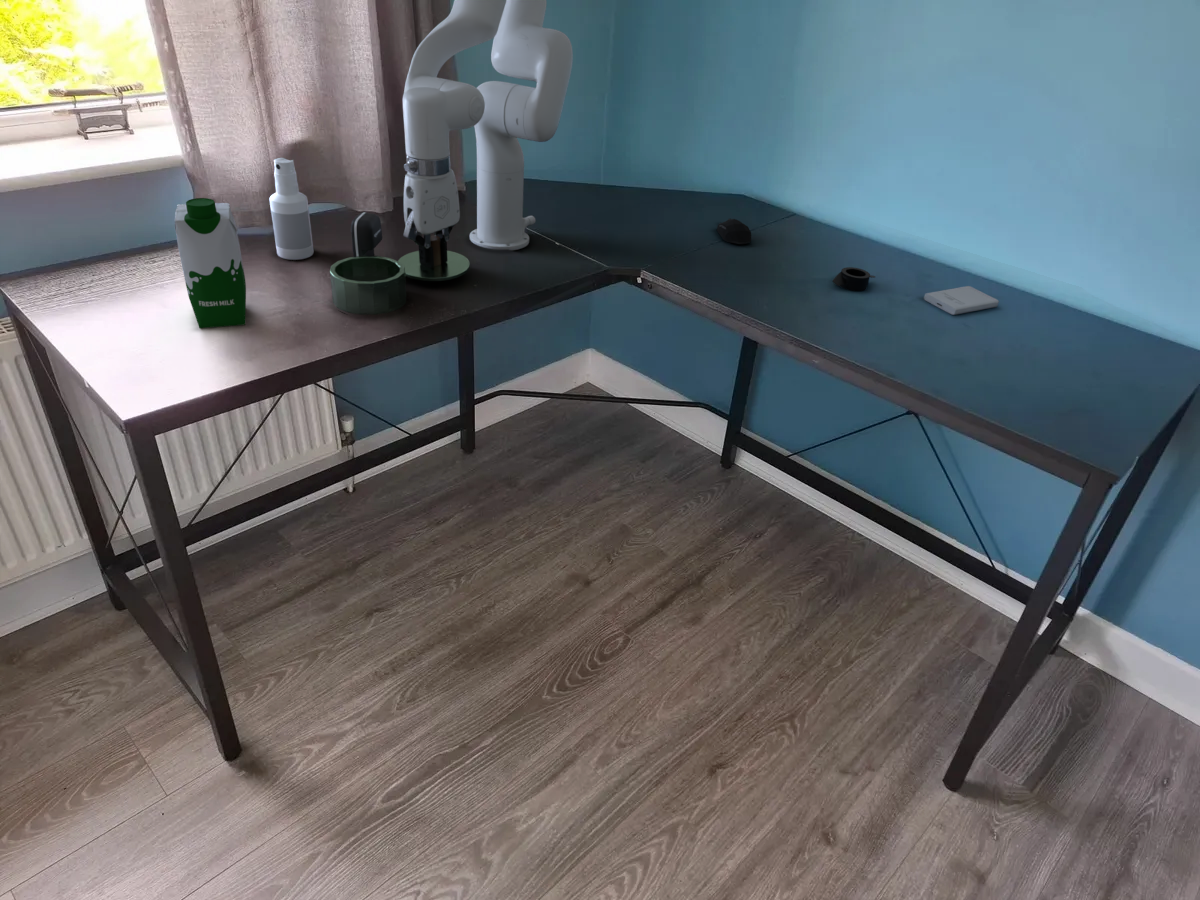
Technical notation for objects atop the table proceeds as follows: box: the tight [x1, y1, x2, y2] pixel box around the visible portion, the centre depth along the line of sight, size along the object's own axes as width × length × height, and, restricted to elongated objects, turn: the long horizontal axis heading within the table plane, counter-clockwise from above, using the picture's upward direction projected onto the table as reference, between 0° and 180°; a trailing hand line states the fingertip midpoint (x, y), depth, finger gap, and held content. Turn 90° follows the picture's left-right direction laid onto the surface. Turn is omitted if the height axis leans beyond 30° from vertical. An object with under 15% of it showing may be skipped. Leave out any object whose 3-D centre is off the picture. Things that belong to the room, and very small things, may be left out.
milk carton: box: [174, 197, 247, 329], centre depth 133 cm, size 9×9×20 cm
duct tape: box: [831, 266, 876, 293], centre depth 172 cm, size 8×10×3 cm
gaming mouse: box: [716, 218, 752, 245], centre depth 192 cm, size 6×15×4 cm, turn 12°
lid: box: [397, 234, 471, 282], centre depth 156 cm, size 13×13×6 cm
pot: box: [329, 255, 407, 316], centre depth 146 cm, size 12×12×6 cm
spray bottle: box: [268, 157, 315, 261], centre depth 158 cm, size 7×7×18 cm
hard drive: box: [923, 285, 1000, 316], centre depth 169 cm, size 2×8×12 cm
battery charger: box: [350, 211, 383, 257], centre depth 154 cm, size 7×4×11 cm, turn 175°
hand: (433, 262), depth 157 cm, fingers closed on lid, 2 cm apart
